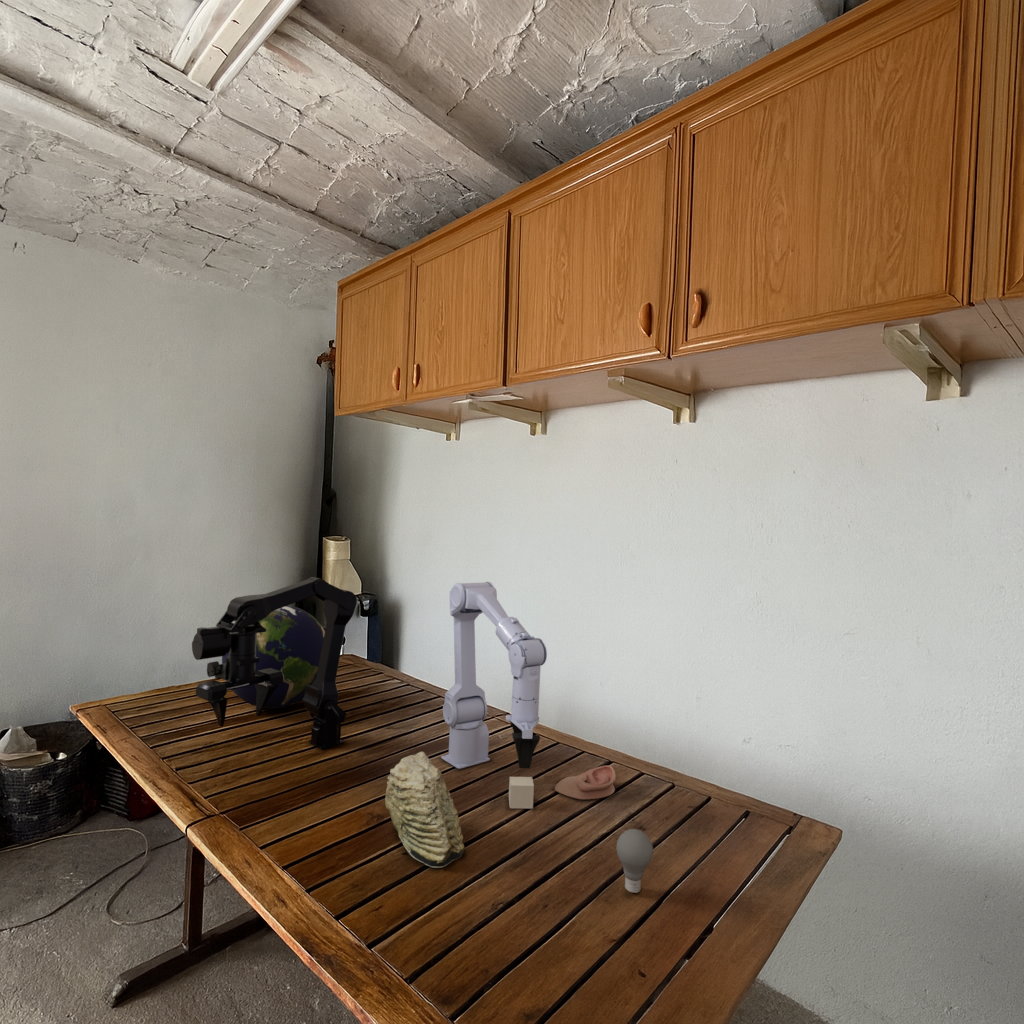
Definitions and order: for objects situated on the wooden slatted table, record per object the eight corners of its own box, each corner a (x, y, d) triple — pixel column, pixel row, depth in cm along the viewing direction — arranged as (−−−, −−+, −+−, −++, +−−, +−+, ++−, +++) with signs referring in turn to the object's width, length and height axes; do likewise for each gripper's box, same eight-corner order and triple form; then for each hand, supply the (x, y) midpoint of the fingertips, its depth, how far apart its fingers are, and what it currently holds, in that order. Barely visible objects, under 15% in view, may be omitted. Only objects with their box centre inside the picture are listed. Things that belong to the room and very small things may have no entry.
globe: (289, 685, 209) (292, 594, 208) (348, 705, 191) (352, 606, 191) (199, 706, 185) (203, 604, 184) (258, 732, 167) (262, 619, 167)
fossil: (411, 815, 127) (414, 741, 127) (473, 855, 114) (476, 772, 114) (373, 831, 121) (376, 753, 120) (434, 874, 108) (437, 787, 107)
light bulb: (610, 879, 108) (613, 822, 108) (644, 879, 109) (647, 822, 109) (619, 902, 102) (622, 840, 102) (655, 901, 103) (658, 840, 103)
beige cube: (508, 799, 136) (509, 776, 136) (531, 799, 137) (532, 776, 137) (509, 808, 132) (510, 785, 132) (532, 808, 133) (533, 785, 133)
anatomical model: (553, 777, 138) (560, 757, 150) (552, 795, 138) (559, 774, 150) (614, 786, 136) (616, 764, 147) (613, 804, 136) (616, 781, 147)
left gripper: (258, 640, 157) (256, 703, 158) (183, 653, 142) (181, 722, 142) (286, 648, 151) (283, 713, 151) (210, 662, 136) (208, 735, 136)
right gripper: (505, 685, 141) (502, 746, 141) (508, 707, 127) (505, 774, 127) (536, 686, 142) (533, 746, 142) (543, 708, 127) (540, 775, 127)
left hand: (240, 720), depth 145 cm, fingers open, 9 cm apart
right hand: (522, 760), depth 134 cm, fingers open, 7 cm apart
